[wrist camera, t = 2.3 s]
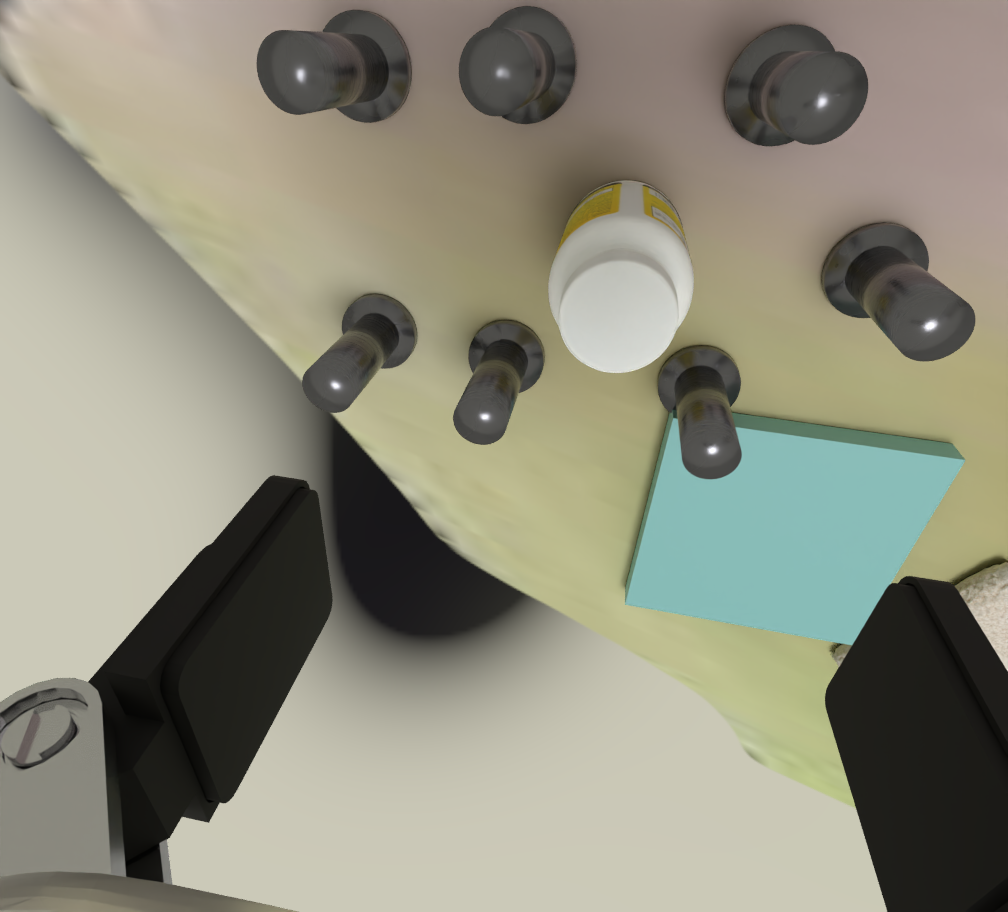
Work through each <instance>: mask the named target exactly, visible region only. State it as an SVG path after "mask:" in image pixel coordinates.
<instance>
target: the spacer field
mask: <svg viewBox="0 0 1008 912" xmlns="http://www.w3.org/2000/svg"><path fill="white" fill-rule="evenodd" d="M576 68H577V60H576V51H575V47H574V43H573V40H572V38H571V36H570V34H569V32H568V30H567V28H566V27H565V26H564V25H563V23H562V22H561V21H560V20H559V19H558V18H557V17H555V16H554V15H553V14H551V13H549V12H547V11H546V10H543V9H540V8H537V7H531V6H523V7H518V8H515V9H512V10H509V11H507V12H506V13H504V14H503V15H501V16H500V17H499V18H498V19H496V20H495V21H494V22H493V24H492V25H491V26H490V27H489V28H486V29H483V30H481V31H479V32H478V33H476V34H475V35H474V36H473V37H472V38H471V39H470V40H469V41H468V43H467V44H466V46H465V48H464V50H463V52H462V55H461V58H460V64H459V78H460V83H461V87H462V90H463V92H464V94H465V96H466V98H467V99H468V101H469V102H470V103H471V104H472V106H474V107H475V108H476V109H477V110H479V111H480V112H482V113H484V114H487V115H491V116H502V117H504V118H505V119H507V120H509V121H512V122H515V123H520V124H532V123H536V122H540V121H542V120H544V119H546V118H548V117H550V116H551V115H553V114H554V113H555V112H556V111H557V110H558V109H559V108H560V107H561V106H562V105H563V104H564V102H565V101H566V100H567V98H568V96H569V94H570V92H571V90H572V87H573V84H574V81H575V76H576ZM257 72H258V77H259V80H260V83H261V85H262V88H263V90H264V92H265V93H266V95H267V96H268V98H269V99H270V100H271V101H272V102H273V103H274V104H275V105H276V106H277V107H278V108H280V109H281V110H283V111H285V112H287V113H290V114H295V115H301V114H307V113H312V112H317V111H322V110H327V109H332V108H337V109H338V110H339V111H340V112H342V113H343V114H344V115H346V116H347V117H349V118H351V119H353V120H356V121H359V122H369V123H371V122H377V121H380V120H384V119H386V118H388V117H390V116H392V115H393V114H395V113H396V112H397V111H398V110H399V109H400V108H401V106H402V105H403V104H404V102H405V100H406V98H407V96H408V93H409V89H410V85H411V75H412V71H411V62H410V57H409V53H408V50H407V47H406V45H405V43H404V41H403V39H402V37H401V36H400V34H399V33H398V31H397V30H396V29H395V28H394V26H393V25H392V24H390V23H389V22H388V21H387V20H386V19H384V18H383V17H381V16H379V15H377V14H375V13H372V12H368V11H361V10H350V11H345V12H343V13H340V14H339V15H337V16H335V17H334V18H333V19H332V20H330V22H329V23H328V24H327V25H326V27H325V28H324V30H323V32H310V31H291V30H280V31H276V32H273V33H271V34H270V35H268V36H267V37H266V38H265V39H264V41H263V42H262V44H261V46H260V48H259V51H258V55H257ZM867 94H868V79H867V75H866V72H865V69H864V67H863V66H862V64H861V63H860V62H859V61H858V60H857V59H856V58H855V57H853V56H851V55H849V54H847V53H843V52H835V50H834V48H833V46H832V44H831V43H830V41H829V40H828V39H827V38H826V37H825V36H824V35H823V34H822V33H820V32H819V31H817V30H815V29H814V28H811V27H808V26H803V25H788V26H782V27H778V28H774V29H772V30H770V31H767V32H765V33H764V34H762V35H760V36H759V37H757V38H756V39H755V40H753V41H752V42H751V43H750V44H749V45H748V46H747V47H746V48H745V49H744V50H743V51H742V53H741V54H740V55H739V57H738V58H737V60H736V61H735V63H734V65H733V67H732V69H731V71H730V74H729V76H728V80H727V83H726V89H725V108H726V113H727V116H728V119H729V121H730V123H731V125H732V126H733V128H734V129H735V130H736V131H737V132H738V133H739V134H740V135H741V136H742V137H743V138H745V139H746V140H748V141H750V142H752V143H754V144H757V145H762V146H779V145H783V144H787V143H789V142H792V141H794V140H796V141H798V142H800V143H803V144H809V145H815V144H822V143H826V142H829V141H831V140H833V139H835V138H837V137H839V136H840V135H842V134H843V133H844V132H845V131H847V130H848V129H849V128H850V127H851V126H852V125H853V123H854V122H855V121H856V120H857V118H858V117H859V115H860V113H861V111H862V110H863V107H864V105H865V102H866V99H867ZM928 264H929V257H928V251H927V248H926V246H925V244H924V242H923V241H922V239H921V238H920V237H919V236H918V235H916V234H915V233H914V232H912V231H911V230H909V229H908V228H906V227H904V226H901V225H898V224H893V223H876V224H871V225H868V226H865V227H862V228H860V229H857V230H856V231H854V232H852V233H850V234H849V235H847V236H846V237H845V238H843V239H842V240H841V241H840V242H839V243H838V244H837V245H836V246H835V247H834V249H833V250H832V251H831V253H830V254H829V256H828V258H827V260H826V262H825V264H824V267H823V271H822V287H823V291H824V293H825V295H826V297H827V298H828V300H829V301H830V302H831V304H832V305H833V306H834V307H835V308H836V309H837V310H839V311H840V312H842V313H844V314H846V315H848V316H851V317H857V318H872V320H873V321H874V322H875V323H876V324H877V325H878V326H879V328H880V329H881V330H882V331H883V332H884V333H885V334H886V336H887V337H888V338H889V339H890V340H891V341H892V343H893V344H894V345H895V346H896V347H897V348H898V349H899V351H900V352H901V353H902V354H903V355H905V356H906V357H908V358H910V359H913V360H917V361H933V360H938V359H941V358H944V357H946V356H948V355H950V354H952V353H954V352H955V351H957V350H958V349H959V348H960V347H962V346H963V345H964V344H965V343H966V341H967V340H968V339H969V337H970V336H971V334H972V332H973V330H974V326H975V314H974V311H973V309H972V307H971V306H970V305H969V304H968V303H967V302H966V301H964V300H963V299H962V298H961V297H959V296H958V295H957V294H955V293H954V292H953V291H951V290H950V289H949V288H948V287H946V286H945V285H944V284H942V283H941V282H940V281H938V280H937V279H936V278H935V277H933V276H932V275H931V274H929V273H928V272H927V270H928ZM342 331H343V336H342V337H341V338H340V339H339V340H338V341H337V342H336V343H335V344H334V345H332V346H331V347H330V348H329V349H328V350H327V351H326V352H325V353H324V354H323V355H322V356H321V357H320V358H319V359H318V360H317V361H316V362H315V363H314V364H313V365H312V366H311V367H310V368H309V369H308V370H307V371H306V372H305V374H304V376H303V380H302V385H303V389H304V392H305V394H306V396H307V398H308V399H309V400H310V401H311V402H312V403H313V404H314V405H315V406H316V407H318V408H320V409H321V410H324V411H327V412H332V413H337V412H342V411H344V410H346V409H347V408H348V407H349V406H350V405H351V404H352V403H353V401H354V400H355V399H356V398H357V396H358V395H359V394H360V393H361V391H362V390H363V389H364V388H365V386H366V385H367V384H368V383H369V381H370V380H371V379H372V378H373V376H374V375H375V374H376V373H377V372H378V370H379V369H380V368H393V367H396V366H398V365H400V364H402V363H403V362H404V361H406V360H407V358H408V357H409V356H410V354H411V353H412V352H413V350H414V348H415V345H416V342H417V329H416V325H415V322H414V320H413V318H412V316H411V314H410V313H409V312H408V310H407V309H406V308H405V307H404V306H403V305H402V304H401V303H399V302H398V301H396V300H395V299H393V298H391V297H388V296H385V295H381V294H370V295H365V296H363V297H361V298H359V299H358V300H356V301H355V302H354V303H353V304H352V305H351V306H350V307H349V308H348V309H347V311H346V312H345V314H344V317H343V321H342ZM544 361H545V354H544V349H543V346H542V343H541V341H540V339H539V338H538V336H537V335H536V334H535V333H534V332H533V331H532V330H531V329H530V328H528V327H527V326H525V325H523V324H521V323H519V322H516V321H511V320H499V321H494V322H492V323H489V324H487V325H486V326H484V327H483V328H482V329H481V330H479V332H478V333H477V334H476V336H475V338H474V339H473V341H472V343H471V346H470V349H469V364H470V368H471V370H472V372H473V375H472V377H471V379H470V381H469V383H468V385H467V387H466V389H465V391H464V393H463V395H462V397H461V399H460V401H459V403H458V405H457V407H456V409H455V411H454V415H453V421H454V425H455V428H456V430H457V431H458V433H459V434H460V435H461V436H462V437H463V438H465V439H466V440H468V441H470V442H472V443H475V444H481V445H486V444H491V443H494V442H496V441H498V440H499V439H500V438H501V437H502V436H503V435H504V433H505V430H506V427H507V425H508V422H509V419H510V416H511V413H512V410H513V407H514V404H515V401H516V398H517V396H518V393H520V392H523V391H525V390H527V389H529V388H530V387H532V386H533V385H534V384H535V383H536V382H537V380H538V379H539V377H540V375H541V372H542V369H543V366H544ZM740 386H741V380H740V375H739V371H738V368H737V366H736V364H735V362H734V360H733V359H732V358H731V357H730V356H729V355H728V354H727V353H725V352H724V351H722V350H720V349H718V348H715V347H711V346H703V345H701V346H692V347H688V348H685V349H683V350H680V351H679V352H677V353H675V354H674V355H672V356H671V357H670V358H669V359H668V360H667V361H666V362H665V364H664V365H663V367H662V369H661V371H660V374H659V377H658V392H659V397H660V400H661V402H662V404H663V405H664V407H665V408H666V409H667V410H668V411H669V412H670V413H672V410H677V418H678V427H679V436H680V446H681V455H682V462H683V465H684V467H685V468H686V470H687V471H688V472H689V473H691V474H692V475H694V476H696V477H698V478H702V479H718V478H722V477H724V476H727V475H729V474H730V473H732V472H733V471H734V470H735V469H736V468H737V467H738V465H739V463H740V461H741V458H742V451H741V447H740V443H739V439H738V435H737V432H736V428H735V424H734V420H733V416H732V412H731V408H730V407H731V406H732V404H733V403H734V402H735V400H736V399H737V397H738V394H739V391H740Z"/></svg>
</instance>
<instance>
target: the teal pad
mask: <svg viewBox="0 0 1008 912" xmlns="http://www.w3.org/2000/svg"><path fill="white" fill-rule="evenodd" d="M732 416H733V420H734V424H735V428H736V432H737V435H738V439H739V443H740V447H741V451H742V458H741V461H740V463H739V465H738V467H737V468H736V469H735V470H734V471H733V472H732V473H730V474H729V475H727V476H724V477H722V478H718V479H702V478H698V477H696V476H694V475H692V474H691V473H689V472H688V471H687V470H686V468H685V467H684V465H683V462H682V455H681V446H680V436H679V427H678V418H677V410H672V413H669V417H668V421H667V425H666V429H665V433H664V437H663V441H662V445H661V449H660V453H659V457H658V461H657V465H656V469H655V473H654V477H653V481H652V485H651V489H650V493H649V497H648V500H647V504H646V508H645V512H644V516H643V520H642V524H641V528H640V532H639V536H638V540H637V544H636V548H635V552H634V556H633V560H632V564H631V568H630V572H629V576H628V580H627V584H626V588H625V605H630V606H636V607H641V608H647V609H653V610H658V611H664V612H669V613H675V614H680V615H686V616H692V617H697V618H703V619H708V620H714V621H719V622H725V623H730V624H736V625H742V626H747V627H753V628H758V629H764V630H769V631H775V632H781V633H786V634H792V635H797V636H803V637H808V638H814V639H820V640H825V641H831V642H836V643H842V644H847V645H853V643H854V641H855V640H856V638H857V636H858V635H859V633H860V631H861V630H862V628H863V626H864V625H865V623H866V621H867V620H868V618H869V616H870V615H871V613H872V611H873V610H874V608H875V606H876V605H877V603H878V601H879V600H880V598H881V596H882V594H883V593H884V591H885V589H886V588H887V587H888V586H889V585H890V584H891V582H892V580H893V579H894V577H895V575H896V574H897V572H898V570H899V569H900V567H901V566H902V564H903V562H904V561H905V559H906V557H907V556H908V554H909V552H910V551H911V549H912V547H913V546H914V544H915V542H916V541H917V539H918V538H919V536H920V534H921V533H922V531H923V529H924V528H925V526H926V524H927V523H928V521H929V519H930V518H931V516H932V514H933V513H934V511H935V509H936V508H937V506H938V505H939V503H940V501H941V500H942V498H943V496H944V495H945V493H946V491H947V490H948V488H949V486H950V485H951V483H952V481H953V480H954V478H955V477H956V475H957V473H958V472H959V470H960V468H961V467H962V465H963V463H964V462H965V459H964V458H963V456H962V455H961V454H960V453H959V451H958V450H957V449H956V448H955V446H954V445H953V444H951V443H944V442H937V441H930V440H923V439H916V438H908V437H901V436H894V435H887V434H880V433H873V432H866V431H859V430H852V429H845V428H838V427H830V426H823V425H816V424H809V423H802V422H795V421H788V420H781V419H774V418H767V417H759V416H752V415H745V414H738V413H732Z"/></svg>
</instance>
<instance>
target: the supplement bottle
mask: <svg viewBox="0 0 1008 912" xmlns="http://www.w3.org/2000/svg"><path fill="white" fill-rule="evenodd" d="M693 286H694V275H693V267H692V262H691V258H690V255H689V251H688V247H687V243H686V239H685V235H684V232H683V227H682V223H681V220H680V218H679V215H678V213H677V211H676V209H675V208H674V206H673V204H672V203H671V202H670V200H669V199H668V198H667V197H666V196H665V195H664V194H663V193H662V192H660V191H659V190H657V189H656V188H654V187H652V186H650V185H648V184H645V183H642V182H638V181H630V180H624V181H616V182H611V183H608V184H605V185H603V186H601V187H598V188H597V189H595V190H593V191H592V192H590V193H589V194H588V195H587V196H585V197H584V198H583V199H582V200H581V201H580V203H579V204H578V205H577V206H576V208H575V209H574V211H573V212H572V214H571V216H570V218H569V220H568V222H567V224H566V227H565V230H564V233H563V237H562V239H561V242H560V244H559V247H558V250H557V252H556V255H555V258H554V260H553V263H552V266H551V271H550V276H549V284H548V295H549V304H550V308H551V311H552V314H553V316H554V319H555V321H556V323H557V324H558V326H559V329H560V333H561V336H562V339H563V341H564V343H565V345H566V346H567V348H568V349H569V351H570V352H571V353H572V354H573V355H574V356H575V357H576V358H577V359H578V360H579V361H581V362H582V363H584V364H585V365H587V366H589V367H591V368H593V369H596V370H599V371H603V372H609V373H624V372H630V371H634V370H637V369H640V368H642V367H644V366H646V365H648V364H650V363H652V362H653V361H654V360H656V359H657V358H658V357H659V356H660V355H661V354H662V353H663V352H664V351H665V350H666V349H667V347H668V346H669V344H670V343H671V341H672V339H673V337H674V335H675V332H676V330H677V329H678V327H679V326H680V325H681V323H682V322H683V320H684V318H685V317H686V314H687V312H688V310H689V307H690V304H691V300H692V295H693Z"/></svg>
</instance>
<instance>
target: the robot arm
mask: <svg viewBox="0 0 1008 912" xmlns="http://www.w3.org/2000/svg"><path fill="white" fill-rule="evenodd" d="M331 607H332V591H331V584H330V577H329V570H328V562H327V555H326V549H325V541H324V534H323V527H322V520H321V513H320V505H319V498H318V494H317V492H316V491H314V490H310V488H309V485H308V483H307V482H306V481H304V480H299V479H294V478H287V477H280V476H275V475H274V476H270V477H269V478H268V479H267V480H266V481H265V482H264V483H263V484H262V485H261V487H260V488H259V489H258V490H257V491H256V493H255V494H254V495H253V496H252V497H251V498H250V499H249V501H248V502H247V503H246V504H245V505H244V507H243V508H242V509H241V510H240V511H239V512H238V514H237V515H236V516H235V517H234V518H233V520H232V521H231V522H230V523H229V524H228V525H227V527H226V528H225V529H224V530H223V531H222V532H221V534H220V535H219V536H218V537H217V538H216V539H215V541H214V542H213V543H212V544H210V545H208V546H206V547H205V548H204V549H203V550H202V551H201V552H199V554H198V555H197V556H196V557H195V558H194V559H193V561H192V562H191V563H190V564H189V565H188V566H187V568H186V569H185V570H184V571H183V572H182V573H181V574H180V576H179V577H178V578H177V579H176V580H175V582H174V583H173V584H172V585H171V586H170V587H169V588H168V590H167V591H166V592H165V593H164V594H163V596H162V597H161V598H160V599H159V600H158V601H157V602H156V604H155V605H154V606H153V607H152V608H151V609H150V611H149V612H148V613H147V614H146V615H145V616H144V618H143V619H142V620H141V621H140V622H139V624H138V625H137V626H136V627H135V628H134V629H133V630H132V632H131V633H130V634H129V635H128V636H127V637H126V639H125V640H124V641H123V642H122V643H121V644H120V646H119V647H118V648H117V649H116V650H115V651H114V652H113V654H112V655H111V656H110V657H109V658H108V659H107V661H106V662H105V663H104V664H103V665H102V667H101V668H100V669H99V670H98V671H97V672H96V674H95V675H94V676H93V677H92V678H91V679H90V680H89V682H86V681H83V680H79V679H76V678H56V679H51V680H48V681H44V682H39V683H36V684H33V685H31V686H29V687H26V688H24V689H22V690H19V691H17V692H15V693H14V694H13V695H11V696H9V697H8V698H6V699H5V700H3V701H2V702H0V912H297V911H293V910H288V909H283V908H280V907H275V906H271V905H266V904H262V903H256V902H252V901H247V900H243V899H238V898H233V897H228V896H223V895H219V894H214V893H209V892H204V891H200V890H195V889H190V888H185V887H181V886H176V885H172V878H171V870H170V861H169V854H168V845H167V839H168V838H170V836H171V834H172V833H173V831H174V829H175V827H176V826H177V824H178V822H179V821H180V819H181V817H186V818H191V819H195V820H200V821H204V822H209V821H210V819H211V817H212V816H213V814H214V812H215V810H216V808H217V806H218V804H219V803H227V802H228V801H229V800H230V799H231V798H232V797H233V796H234V794H235V792H236V790H237V789H238V787H239V785H240V783H241V782H242V780H243V777H244V776H245V774H246V772H247V770H248V768H249V766H250V764H251V763H252V761H253V759H254V757H255V755H256V753H257V751H258V749H259V748H260V745H261V744H262V742H263V740H264V738H265V736H266V734H267V732H268V730H269V729H270V727H271V725H272V723H273V721H274V719H275V717H276V715H277V714H278V712H279V710H280V708H281V706H282V704H283V702H284V700H285V699H286V697H287V695H288V693H289V691H290V689H291V687H292V685H293V683H294V682H295V680H296V678H297V676H298V674H299V672H300V670H301V668H302V666H303V665H304V663H305V661H306V659H307V657H308V655H309V653H310V651H311V650H312V648H313V646H314V644H315V642H316V640H317V638H318V636H319V635H320V633H321V631H322V629H323V627H324V625H325V623H326V621H327V619H328V617H329V614H330V612H331ZM825 705H826V710H827V714H828V717H829V720H830V724H831V727H832V730H833V733H834V737H835V740H836V743H837V747H838V750H839V753H840V757H841V760H842V763H843V766H844V770H845V773H846V776H847V780H848V783H849V786H850V790H851V793H852V796H853V799H854V803H855V806H856V809H857V813H858V816H859V819H860V822H861V826H862V829H863V832H864V836H865V839H866V842H867V845H868V849H869V852H870V855H871V859H872V862H873V865H874V868H875V872H876V875H877V878H878V882H879V885H880V888H881V892H882V895H883V898H884V901H885V905H886V908H887V912H1008V671H1007V669H1006V668H1005V666H1004V664H1003V663H1002V661H1001V660H1000V658H999V656H998V655H997V653H996V651H995V650H994V648H993V647H992V645H991V643H990V642H989V640H988V638H987V637H986V635H985V634H984V632H983V630H982V629H981V627H980V625H979V624H978V622H977V621H976V619H975V617H974V616H973V614H972V612H971V611H970V609H969V608H968V606H967V604H966V603H965V601H964V599H963V598H962V596H961V595H960V593H959V591H958V590H957V589H956V588H955V586H954V585H953V584H951V583H949V582H944V581H938V580H932V579H925V578H919V577H913V576H906V577H904V578H902V579H901V580H900V582H899V583H898V584H897V583H892V584H890V585H889V586H888V587H887V588H886V589H885V591H884V593H883V594H882V596H881V598H880V600H879V601H878V603H877V605H876V606H875V608H874V610H873V611H872V613H871V615H870V616H869V618H868V620H867V621H866V623H865V625H864V626H863V628H862V630H861V631H860V633H859V635H858V636H857V638H856V640H855V641H854V643H853V645H852V646H851V648H850V650H849V651H848V653H847V655H846V656H845V658H844V660H843V661H842V663H841V665H840V666H839V668H838V670H837V671H836V673H835V675H834V677H833V678H832V680H831V682H830V683H829V685H828V687H827V690H826V695H825Z"/></svg>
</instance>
